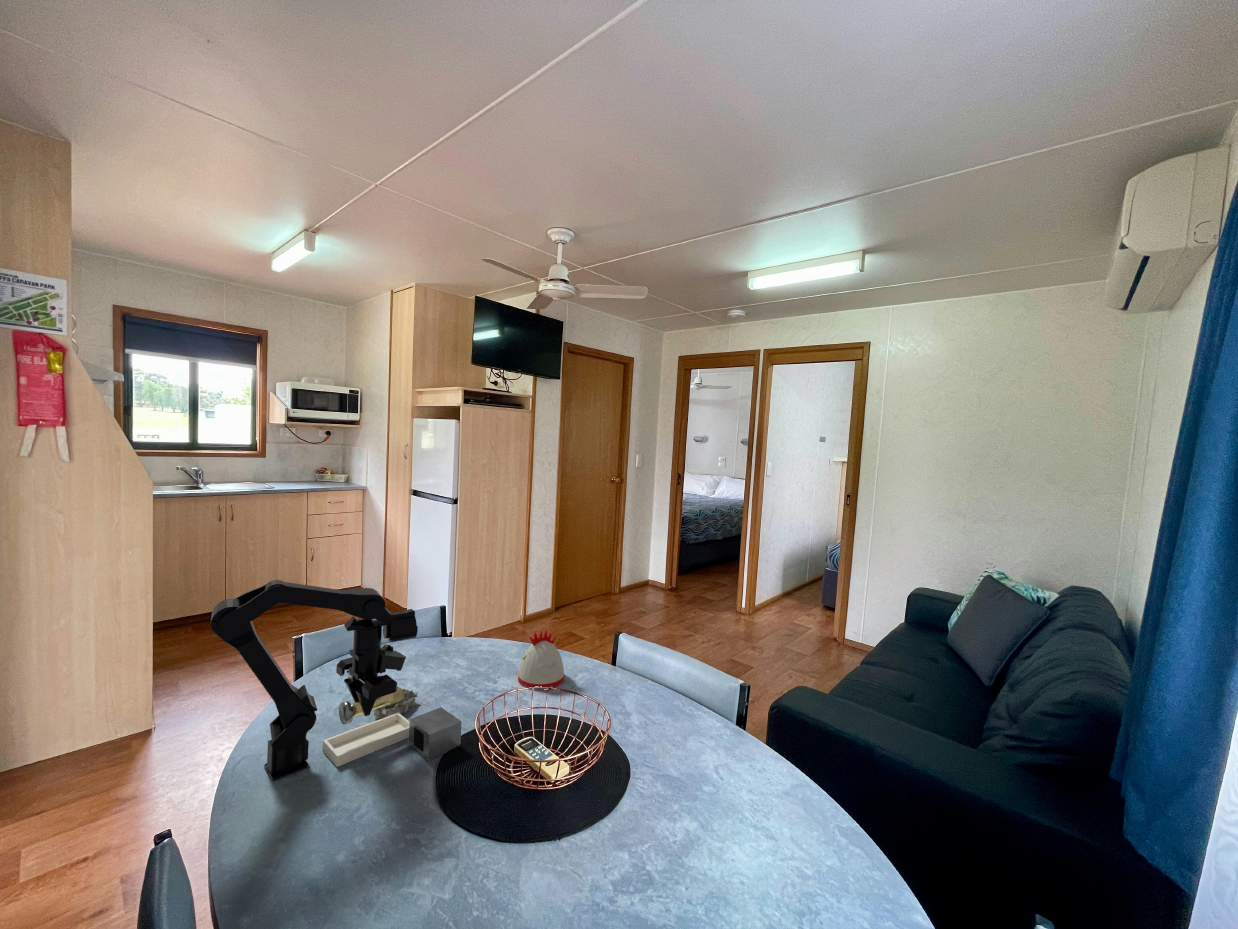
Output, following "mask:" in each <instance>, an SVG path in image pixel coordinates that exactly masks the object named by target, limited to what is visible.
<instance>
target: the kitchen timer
mask: <svg viewBox="0 0 1238 929" xmlns="http://www.w3.org/2000/svg"><path fill="white" fill-rule="evenodd" d="M537 635H538V636H537ZM552 635H553V634H552V632H549V633H548V631H547V629H545V630H544V632H543V631H542V630H541V629H540V631H539V634H537V632H536V631H534V632H533V638H532V636H530V635H529V637H528V638H529V640H530V642H531V643H532V644H531V645H530V646H529V647H528V648H527V649H526V651H525V653H524V654H523V657H522V660H521V661H520V665H519V668H518V674H517V675H518V676H517V682H518V683H519V684H520V685H521V686H522V687H524V688H527V687H535V686H539V687H540V686H542V687H554V688H556V687H558V686H560V685H561V684H563V682H564V681H565V670H564V669H565V668H564V664H563V659H562V656H561V653H560V651H559V650H558V648H557V647H556V646H555V645H554V643H555V641H556V638H557V636H556V635H554V636H552ZM551 637H552V639H551Z"/></svg>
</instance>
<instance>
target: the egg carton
mask: <svg viewBox="0 0 1238 929" xmlns="http://www.w3.org/2000/svg"><path fill="white" fill-rule="evenodd" d="M399 688H400V687H398V686H397V689H399ZM401 689H402V690H403V693H404V698H403V700H401V701H398V702H395V703H392V704H390V705H387V706H384V707H381V708H378V709H375V710H374V715H373V716H375V719H377V720H380V719H383V718H385V717H388V716H391V715H393V714H396V713H399V714H404V713H407V711H408V709H409V707H414V706H416V698H418V695H419V692H416V693H415V692H413V690H410V689H405V688H401ZM393 705H394V706H393ZM392 706H393V708H388V707H392ZM386 708H387V709H386Z"/></svg>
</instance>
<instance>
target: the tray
mask: <svg viewBox="0 0 1238 929" xmlns="http://www.w3.org/2000/svg"><path fill="white" fill-rule="evenodd" d="M409 721H410V720H408V719H407V718H406V717H405V716H403V714H402V713H400V714H399V713H396V714H393V715H391V716H388V717H382V718H380V719H377V720H375V721H371V722H370V723H366V724H364V725H361V726H358V727H356V728H352V729H351V730H348V731H345V732H342V733H339V734H337V735H334V736H332V737H329V738H326V739H323V740H322V752H324V754H325V755H326V756H327V758H329V760H330V761H331V762H332V763H333V764H334V765H335V766H336V767H337V768H339V767H340V766H342V765H345V764H347V763H351V762H352V761H355V760H357V759H360V758H362V757H365V756H367V755H369V754H371V753H375V752H377V751H380V750H381V749H384V748H386V747H389V746H391V745H393V744H397V743H398V742H400V741H403V740H405V739H409Z"/></svg>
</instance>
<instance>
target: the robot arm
mask: <svg viewBox="0 0 1238 929" xmlns="http://www.w3.org/2000/svg"><path fill="white" fill-rule="evenodd" d="M278 604H285V605H295V606H301V607H302V606H303V607H312V608H321V609H325V610H326V609H327V610H336V611H339V612H342V613H345V614H348V615H350V616H351V618H350V619H349V620H348V621H346V622H345V623H344V624H343V625H344V628H345V631H347V632H351V631H353V644H352V649H350V650H349V655H350V656H351V657H347V658H343V659H340V661H338V662H337V664H336V668H335V671H336V672H335V673H337V674H338V676H340V677H343V676H344V675H345V672H346V674H347V677H346V678H344V680H343V682H344V683H345V686H346V687H347V690H348V691H349V693H350V695H351V697H352V699H353V701H354V702H353V703H356V702H360V705H361V708H362V711H363V713H364V714H363V715H364V717H368V716H370V715H371V713H372V711H373V710H372V708H373V706H374V703H375V700H376V699H377V698H380V697H383V696H386V695H389V694H392V693H395V692H396V691H397V687H398V681H396V680H395V679H393V678H392V677H391V676H389V675H388V674H384V673H386V672H387V670H396V671H397V672H401V671H402V669H403V668H404V664H405V662H406V659H407V656H406V655H404V654H402V653H401V652H398V651H397V650H394V646H392V645H390V644H386V643H385V644H384V645H383V646H382V636H383V638H384V639H387V640H388V643H395V642H399V641H400V642H401V641H405V640H411V639H416V638H417V636H418V632H419V631H418V629H419V627H418V624H417V618H416V611H415V610H414V608H413V609H412V608H409V609H405V610H400V611H393V612H391V611H390V610H389V609H388V608H387V607H386V600H385V599H384V597H383V596H382V595H381V594H380V592H379V591H377V590H376V589H374V588H373V587H372V588H370V587H364V588H363V587H362V588H361V587H360V588H359V587H358V588H357V587H354V588H348V589H336V588H331V587H330V588H329V587H322V586H316V585H309V584H303V583H295V582H289V581H288V582H287V581H283V580H282V579H274V580H271V581H269V582H267V583H266V584H264V585H262V586H259V587H257V588H254V589H252V590H249V591H246V592H244V593H242V594H241V595H239V596H237V597H235V598H232V597H231V598H227V599H223V600H222V601H220V602H219V603H217V604H216V605H215V606H214V607H213V610H212V611H211V617H210V618H211V619H210V628H211V631H212V633H214V634H215V635H216V637H217V636H218V638H219V639H221V640H222V641H223V642H224V643H225V644H227V645H228V646H230V647H231V648H234V650H236V651H237V652H238V654H239V655H240V656H241V658H242V659H243V660H244V662H245V663H246V664H247V666H248V667H249V669H250V670H251V671H252V673H253V674H254V675H255V676H256V678H257V680H258V681H259V683H260V684H261V686H262V687H263V689H265V691H266V692H267V694H268V695H269V696H270V698H271V699H272V701H273V703H274V704H275V707H276V710H277V713H278V715H277V716H276V717H275V718H274V719H273V720H272V721H271V722H270V723H269V730H270V736H271V739H269V740H267V752H266V753H267V755H266V756H267V757H266V758H267V759H266V763H265V764H264V765H263V768H264V770H265V771H266V772H267V774H268V775H269V777H270V778H271V779H272V780H273V781H275V780H278V779H281V778H283V777H287V776H289V775H291V774H293V773H296V772H299V771H301V770H304V769H306V768H308V767H309V763H308V761H307V760H309V743H310V742H309V740H308V739H307V734H308V733H309V731H311V730H312V728H313V727H314V726H315V724H316V722H317V714H316V711H318V707H317V704H316V700H315V697H314V696H313V695H311V694H310V693H309V692H308V689H307V686H306V685H305V684H303V685H302V686H300V687H299V688H298V687H296V686H294V685H293V684H292V683H291V682H290V680H289V679H288V677H287V676H286V674H285V673H284V671H283V670H282V668H281V667H280V666H279V664H278V662H277V661H276V659H275V658H274V657H273V656H272V654H271V653H270V651H269V650H268V648H267V647H266V645H265V644H264V643H263V641H262V640H261V638H260V637H259V635H258V634H257V630H256V628H255V625H254V620H256V619H258V618H259V617H260V616H262V615H263V614H264V613H266V612H268V610H270V609H271V608H273V607H274V606H276V605H278ZM378 674H384V675H378Z"/></svg>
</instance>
